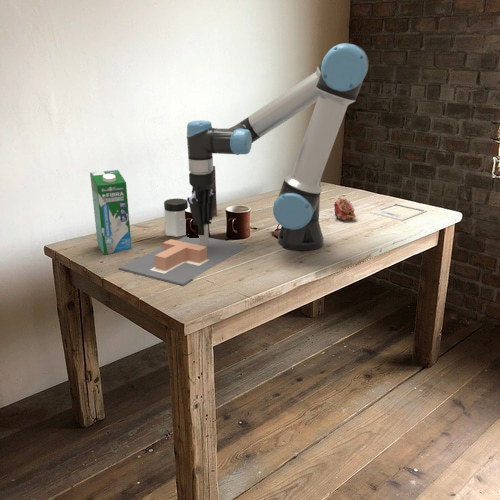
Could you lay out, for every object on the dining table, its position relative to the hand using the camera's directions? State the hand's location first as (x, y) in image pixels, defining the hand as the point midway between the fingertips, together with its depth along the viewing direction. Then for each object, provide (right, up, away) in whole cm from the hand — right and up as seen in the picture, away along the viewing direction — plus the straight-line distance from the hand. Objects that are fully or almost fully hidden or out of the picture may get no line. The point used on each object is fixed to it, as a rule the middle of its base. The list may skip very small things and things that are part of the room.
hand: (204, 243), depth 177 cm
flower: (+51, +9, +31) cm, 61 cm away
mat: (-5, -5, -6) cm, 9 cm away
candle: (-2, +11, +36) cm, 37 cm away
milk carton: (-30, -2, +2) cm, 30 cm away
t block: (-8, -6, -11) cm, 15 cm away
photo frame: (+75, +12, +41) cm, 86 cm away
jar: (-11, +3, +16) cm, 19 cm away
